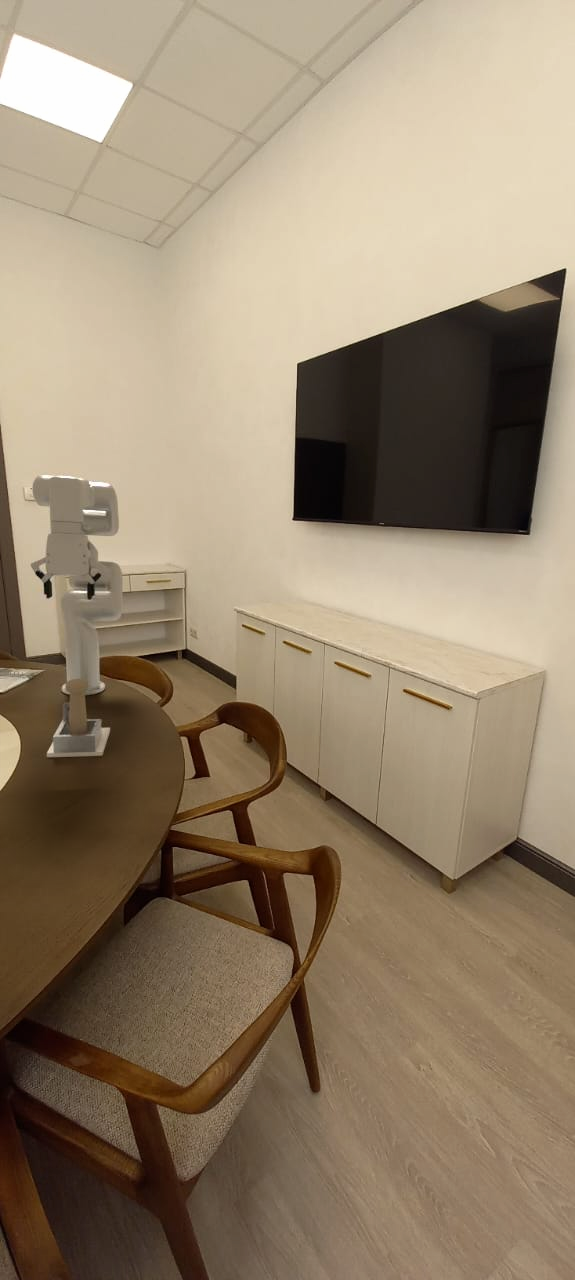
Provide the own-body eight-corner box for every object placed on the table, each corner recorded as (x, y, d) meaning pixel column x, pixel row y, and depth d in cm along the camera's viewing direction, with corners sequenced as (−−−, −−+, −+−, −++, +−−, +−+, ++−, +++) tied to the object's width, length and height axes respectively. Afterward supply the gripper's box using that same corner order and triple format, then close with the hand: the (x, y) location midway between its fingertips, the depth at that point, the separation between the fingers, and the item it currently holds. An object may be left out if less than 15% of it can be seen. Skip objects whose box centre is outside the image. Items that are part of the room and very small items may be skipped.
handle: (90, 736, 127) (88, 678, 124) (88, 747, 121) (87, 687, 118) (69, 738, 126) (67, 679, 122) (66, 749, 120) (64, 687, 116)
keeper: (60, 732, 131) (59, 699, 129) (110, 731, 133) (109, 699, 131) (46, 757, 118) (45, 721, 116) (102, 755, 120) (101, 720, 118)
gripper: (106, 530, 132) (107, 596, 136) (33, 526, 128) (36, 594, 132) (102, 531, 125) (103, 601, 129) (24, 527, 121) (28, 599, 125)
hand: (69, 598), depth 130 cm, fingers open, 9 cm apart
